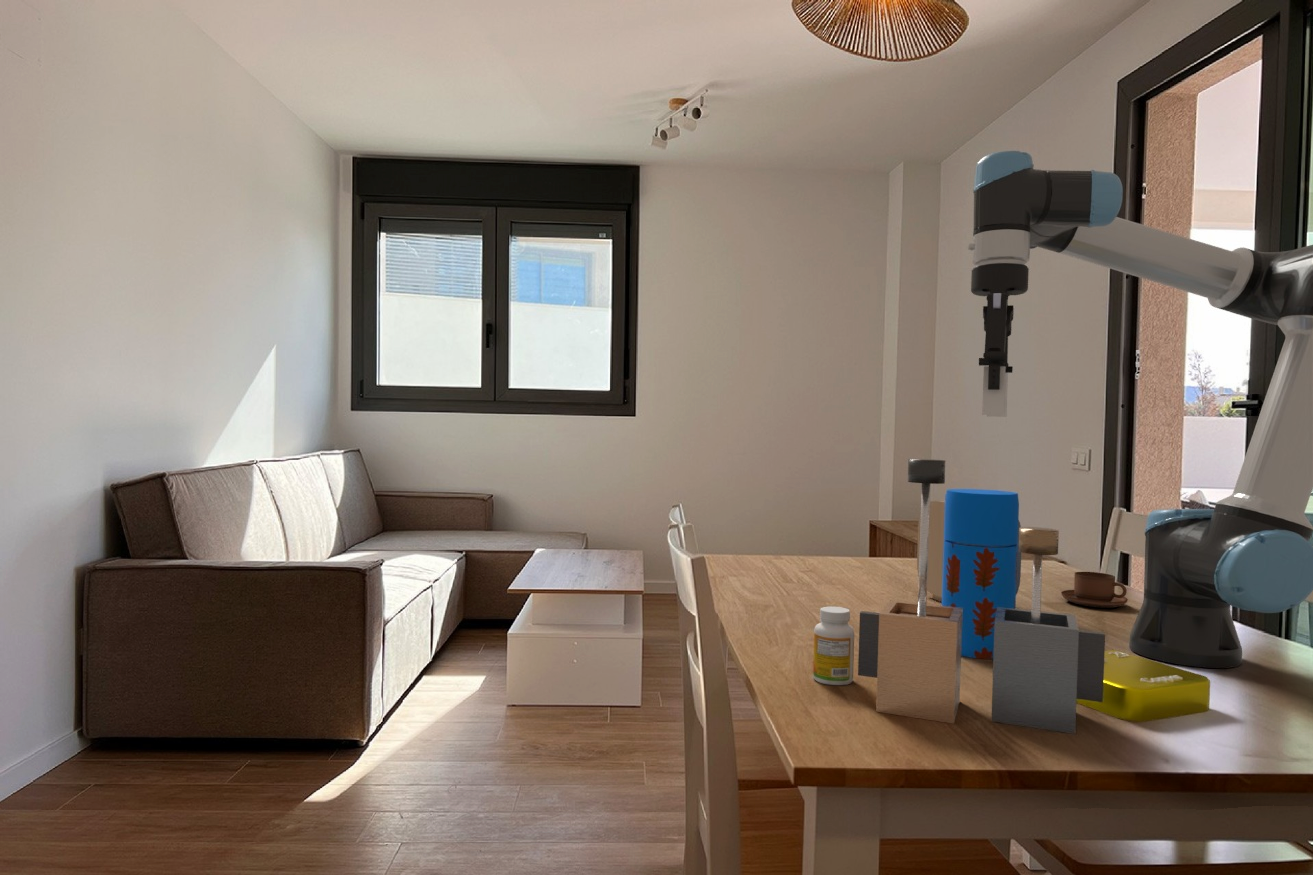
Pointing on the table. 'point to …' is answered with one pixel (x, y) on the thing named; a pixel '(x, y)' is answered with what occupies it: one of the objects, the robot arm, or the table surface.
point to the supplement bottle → (833, 647)
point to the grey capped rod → (925, 517)
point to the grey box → (1044, 669)
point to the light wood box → (913, 659)
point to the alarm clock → (937, 547)
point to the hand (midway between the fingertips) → (994, 416)
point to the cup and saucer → (1095, 590)
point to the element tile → (1149, 689)
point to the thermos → (980, 562)
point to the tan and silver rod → (1037, 558)
